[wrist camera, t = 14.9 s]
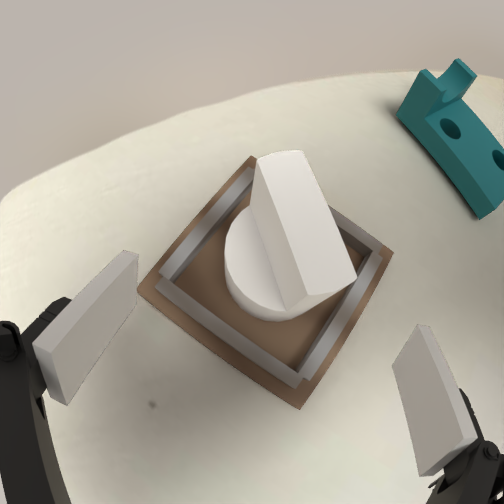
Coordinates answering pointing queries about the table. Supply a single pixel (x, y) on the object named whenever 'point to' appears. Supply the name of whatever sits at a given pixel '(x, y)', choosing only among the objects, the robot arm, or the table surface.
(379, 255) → the plate
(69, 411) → the table surface
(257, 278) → the cylinder with rectangular tab
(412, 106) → the teal l-shaped bracket
